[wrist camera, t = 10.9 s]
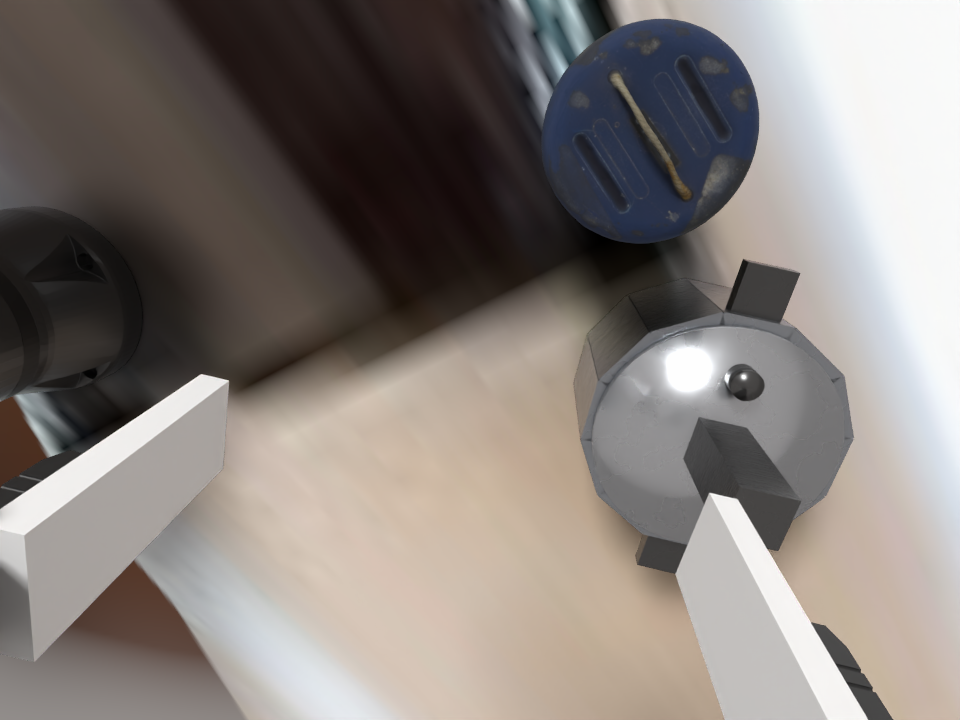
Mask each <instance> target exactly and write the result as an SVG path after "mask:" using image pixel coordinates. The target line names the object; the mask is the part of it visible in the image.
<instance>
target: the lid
mask: <svg viewBox="0 0 960 720" xmlns="http://www.w3.org/2000/svg"><path fill="white" fill-rule="evenodd" d="M844 433H845V423H844V413H843V409H842V404H841V400H840V398H839V395H838V393H837V390H836V388H835V386H834V384H833V383H832V381H831V379H830V378H829V376H828V375H827V373H826V372H825V371H824V369H823V368H822V367H821V366H820V365H819V364H818V363H817V361H815V360H814V359H813V358H812V357H811V356H810V355H808V354H807V353H806V352H805V351H804V350H802V349H801V348H799V347H798V346H796V345H795V344H793V343H791V342H790V341H788V340H787V339H784V338H782V337H780V336H778V335H775V334H773V333H771V332H767V331H764V330H760V329H757V328H752V327H746V326H740V325H713V326H703V327H698V328H693V329H688V330H685V331H682V332H679V333H676V334H673V335H670V336H668V337H666V338H664V339H662V340H659V341H657V342H655V343H654V344H652V345H650V346H649V347H647V348H646V349H644V350H642V351H641V352H640V353H638V354H637V355H636V356H635V357H633V358H632V359H631V360H630V361H629V362H627V363H626V365H625V366H624V367H623V368H622V369H621V370H620V371H619V372H618V373H617V374H616V375H615V377H614V378H613V380H612V381H611V382H610V384H609V385H608V387H607V388H606V390H605V392H604V394H603V396H602V397H601V399H600V402H599V405H598V407H597V410H596V413H595V417H594V422H593V426H592V439H591V441H592V454H593V460H594V464H595V469H596V472H597V475H598V477H599V480H600V483H601V485H602V486H603V488H604V490H605V492H606V494H607V495H608V497H609V498H610V499H611V501H612V502H613V503H614V504H615V506H616V507H617V508H618V509H619V510H620V511H621V512H622V513H623V514H624V515H625V516H627V517H628V518H629V519H630V520H632V521H633V522H634V523H636V524H637V525H639V526H641V527H642V528H644V529H646V530H648V531H649V532H652V533H654V534H656V535H659V536H661V537H664V538H667V539H671V540H674V541H678V542H684V543H689V540H690V538H691V536H692V533H693V531H694V528H695V526H696V524H697V521H698V519H699V516H700V514H701V512H702V509H703V507H704V504H705V502H706V500H707V497H708V495H709V493H713V494H717V495H722V496H726V497H730V498H734V499H738V501H739V502H740V504H741V506H742V508H743V509H744V511H745V513H746V514H747V516H748V518H749V519H750V521H751V523H752V524H753V526H754V528H755V529H756V531H757V533H758V535H759V536H760V538H761V540H762V541H763V543H764V545H765V546H766V548H767V549H771V550H775V551H778V550H779V548H780V546H781V544H782V542H783V540H784V537H785V535H786V533H787V531H788V529H789V527H790V525H791V523H792V520H793V518H795V517H796V516H798V515H799V514H800V513H801V512H802V511H804V510H805V509H806V508H807V507H808V506H809V505H810V504H811V503H812V502H813V501H814V500H815V499H816V498H817V497H818V496H819V495H820V493H821V492H822V491H823V489H824V488H825V487H826V485H827V484H828V482H829V480H830V479H831V477H832V475H833V473H834V472H835V469H836V467H837V464H838V462H839V459H840V456H841V452H842V448H843V444H844Z"/></svg>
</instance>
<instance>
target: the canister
mask: <svg viewBox="0 0 960 720" xmlns="http://www.w3.org/2000/svg"><path fill="white" fill-rule="evenodd" d="M758 133H759V109H758V101H757V96H756V92H755V89H754V86H753V83H752V80H751V78H750V75H749V73H748V71H747V70H746V68H745V66H744V64H743V63H742V61H741V60H740V58H739V57H738V56H737V54H736V53H735V52H734V51H733V50H732V49H731V48H730V47H729V46H728V45H727V44H726V43H725V42H724V41H722V40H721V39H720V38H719V37H717V36H716V35H714V34H713V33H711V32H710V31H708V30H706V29H704V28H702V27H699V26H696V25H694V24H691V23H688V22H684V21H679V20H672V19H652V20H644V21H639V22H635V23H631V24H628V25H625V26H622V27H619V28H617V29H615V30H613V31H611V32H609V33H607V34H606V35H604V36H603V37H601V38H599V39H598V40H596V41H595V42H594V43H592V44H591V45H590V46H588V47H587V48H586V49H585V50H584V51H583V52H582V53H581V54H580V55H579V56H578V57H577V58H576V59H575V60H574V61H573V62H572V64H571V65H570V66H569V67H568V68H567V70H566V71H565V72H564V74H563V75H562V77H561V79H560V80H559V82H558V84H557V85H556V87H555V90H554V92H553V94H552V96H551V99H550V101H549V104H548V107H547V110H546V114H545V119H544V123H543V129H542V140H541V144H542V159H543V164H544V169H545V173H546V176H547V179H548V181H549V183H550V185H551V188H552V190H553V191H554V193H555V195H556V197H557V198H558V200H559V201H560V203H561V204H562V205H563V206H564V208H565V209H566V210H567V211H568V212H569V213H570V214H571V215H572V216H573V217H574V218H575V219H576V220H577V221H578V222H579V223H580V224H582V225H583V226H584V227H586V228H588V229H589V230H591V231H593V232H595V233H597V234H599V235H601V236H604V237H606V238H609V239H612V240H616V241H621V242H627V243H635V244H642V243H653V242H658V241H664V240H668V239H671V238H674V237H678V236H680V235H683V234H685V233H687V232H689V231H691V230H693V229H695V228H697V227H698V226H700V225H702V224H703V223H705V222H706V221H707V220H709V219H710V218H711V217H713V216H714V215H715V214H716V213H717V212H718V211H719V210H721V209H722V208H723V207H724V205H725V204H726V203H727V202H728V201H729V200H730V199H731V198H732V196H733V195H734V194H735V192H736V191H737V190H738V188H739V187H740V185H741V183H742V182H743V180H744V178H745V176H746V174H747V172H748V170H749V168H750V165H751V163H752V160H753V157H754V154H755V150H756V145H757V140H758Z"/></svg>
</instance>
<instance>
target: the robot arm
mask: <svg viewBox="0 0 960 720" xmlns="http://www.w3.org/2000/svg"><path fill="white" fill-rule="evenodd" d="M141 329H142V307H141V301H140V297H139V293H138V289H137V286H136V284H135V281H134V279H133V277H132V274H131V272H130V271H129V269H128V267H127V265H126V264H125V262H124V260H123V259H122V257H121V256H120V255H119V253H118V252H117V251H116V250H115V248H114V247H113V246H112V245H111V244H110V243H109V242H108V241H107V240H106V239H105V238H104V237H103V236H102V235H101V234H100V233H99V232H97V231H96V230H95V229H94V228H92V227H91V226H89V225H88V224H86V223H85V222H83V221H81V220H80V219H78V218H76V217H74V216H72V215H70V214H67V213H65V212H62V211H59V210H55V209H51V208H45V207H22V208H12V209H3V210H0V401H2V400H5V399H7V398H9V397H11V396H14V395H18V394H28V393H38V392H48V391H58V390H68V389H76V388H80V387H84V386H87V385H90V384H92V383H94V382H96V381H98V380H101V379H103V378H105V377H107V376H109V375H111V374H112V373H114V372H116V371H117V370H119V369H120V368H121V367H122V366H123V365H125V363H126V362H127V361H128V360H129V359H130V357H131V356H132V354H133V353H134V351H135V349H136V347H137V344H138V342H139V339H140V335H141ZM228 390H229V381H228V380H224V379H220V378H216V377H211V376H207V375H203V374H201V375H199V376H198V377H196V378H195V379H193V380H192V381H190V382H189V383H187V384H186V385H184V386H183V387H181V388H180V389H178V390H177V391H175V392H174V393H172V394H171V395H169V396H168V397H166V398H165V399H163V400H162V401H161V402H159V403H158V404H156V405H155V406H153V407H152V408H150V409H149V410H147V411H146V412H144V413H143V414H141V415H140V416H138V417H137V418H135V419H134V420H132V421H131V422H129V423H128V424H126V425H125V426H123V427H122V428H120V429H119V430H117V431H116V432H114V433H113V434H111V435H110V436H108V437H107V438H105V439H104V440H102V441H101V442H99V443H98V444H96V445H95V446H93V447H92V448H90V449H89V450H88V451H86V452H85V453H79V452H75V451H71V450H69V451H66V452H64V453H61V454H58V455H55V456H52V457H49V458H46V459H43V460H41V461H40V462H38V463H36V464H35V465H33V466H32V467H30V468H28V469H27V470H25V471H24V472H22V473H20V476H19V477H14V478H13V479H11V480H9V481H8V482H6V483H4V484H3V485H2V487H1V488H0V654H2V655H6V656H11V657H15V658H19V659H23V660H27V661H32V662H35V661H36V660H37V659H38V658H39V657H40V656H41V655H42V653H44V652H45V651H46V650H47V648H48V647H49V646H50V645H51V644H52V643H53V642H54V641H55V640H56V639H57V638H58V637H59V636H60V635H61V634H62V633H63V632H64V631H65V630H66V629H67V628H68V627H69V626H70V625H71V624H72V623H73V622H74V621H75V620H76V619H77V618H78V617H79V616H80V614H82V612H84V610H86V609H87V607H89V605H90V604H91V603H92V602H93V601H94V600H95V599H96V598H97V597H98V596H99V595H100V594H101V593H102V592H103V591H104V590H105V589H106V588H107V587H108V586H109V585H110V584H111V583H112V582H113V581H114V580H115V579H116V578H117V577H118V576H119V575H120V574H121V573H122V572H123V571H124V570H125V569H126V567H127V566H129V564H130V563H131V562H132V561H133V560H134V559H135V558H136V557H137V556H138V555H139V554H140V553H141V552H142V551H143V550H144V549H145V548H146V547H147V546H148V545H149V544H150V543H151V542H152V541H153V540H154V539H155V538H156V537H157V536H158V535H159V534H160V533H161V532H162V531H163V530H164V529H165V528H166V527H167V526H168V525H169V524H170V522H171V521H172V520H173V519H174V518H175V517H176V516H177V515H178V514H179V513H180V512H181V511H182V510H183V509H184V508H185V507H186V506H187V505H188V504H189V503H190V502H191V501H192V500H193V499H194V498H195V497H196V496H197V495H198V494H199V493H200V492H201V491H202V490H203V489H204V488H205V487H206V486H207V485H208V484H209V483H210V482H211V480H212V479H213V478H214V477H215V476H216V475H217V474H218V473H219V472H220V471H221V470H222V469H223V466H224V451H225V436H226V420H227V405H228ZM675 575H676V577H677V580H678V583H679V586H680V589H681V592H682V595H683V598H684V601H685V604H686V607H687V610H688V613H689V616H690V619H691V622H692V625H693V628H694V630H695V633H696V636H697V639H698V642H699V645H700V648H701V651H702V654H703V657H704V660H705V663H706V666H707V669H708V672H709V675H710V678H711V680H712V683H713V686H714V689H715V692H716V695H717V698H718V701H719V704H720V707H721V710H722V713H723V716H724V719H725V720H893V719H892V717H891V716H890V714H889V713H888V711H887V709H886V708H885V706H884V705H883V703H882V702H881V700H880V698H879V697H878V695H877V694H876V692H873V691H872V688H873V687H872V686H871V684H870V683H869V681H868V680H867V678H866V676H865V675H864V674H862V673H861V669H860V667H859V665H858V664H857V662H856V661H855V659H854V658H853V656H852V654H851V653H850V651H849V650H848V648H847V647H846V646H845V645H844V644H843V643H842V642H841V641H840V640H839V639H838V638H837V637H836V636H835V635H834V634H833V633H832V632H831V631H830V630H829V629H828V628H827V627H826V626H824V625H820V624H816V623H812V622H810V621H809V619H808V617H807V616H806V614H805V612H804V610H803V609H802V607H801V605H800V604H799V602H798V600H797V599H796V597H795V595H794V594H793V592H792V590H791V589H790V587H789V585H788V583H787V582H786V580H785V578H784V577H783V575H782V573H781V572H780V570H779V568H778V567H777V565H776V563H775V562H774V560H773V558H772V556H771V555H770V553H769V551H768V550H767V548H766V546H765V545H764V543H763V541H762V540H761V538H760V536H759V535H758V533H757V531H756V529H755V528H754V526H753V524H752V523H751V521H750V519H749V518H748V516H747V514H746V513H745V511H744V509H743V508H742V506H741V504H740V502H739V501H738V499H734V498H730V497H726V496H722V495H717V494H713V493H709V495H708V497H707V500H706V502H705V504H704V507H703V509H702V512H701V514H700V516H699V519H698V521H697V524H696V526H695V528H694V531H693V533H692V536H691V538H690V540H689V543H688V545H687V548H686V550H685V552H684V555H683V557H682V560H681V562H680V564H679V567H678V569H677V572H676V574H675Z"/></svg>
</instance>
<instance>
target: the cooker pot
mask: <svg viewBox="0 0 960 720" xmlns="http://www.w3.org/2000/svg"><path fill="white" fill-rule="evenodd" d="M799 275H800V273H799V272H796V271H794V270H791V269H786V268H782V267H777V266H773V265H768V264H763V263H759V262H754V261H750V260H745V259H743V261H742V264H741V266H740V269H739V272H738V275H737V277H736V280H735V283H734V286H733V288H728V287H724V286H719V285H714V284H710V283H705V282H701V281H696V280H692V279H687V278H683V279H679V280H676V281H672V282H669V283H666V284H662V285H659V286H655V287H652V288H648V289H645V290H641V291H638V292H635V293H631V294H628V295H629V296H628V295H627V296H626V297H625V298H624V299H623V300H621V301H620V302H619V303H618V304H617V305H616V306H615V307H614V308H613V309H612V310H611V311H610V312H609V313H608V314H607V315H606V316H605V317H604V318H603V319H602V320H601V321H600V322H599V323H598V324H597V325H596V326H595V327H594V328H593V329H592V330H591V331H590V332H589V333H588V334H587V337H586V340H585V344H584V347H583V351H582V354H581V358H580V361H579V365H578V369H577V372H576V376H575V379H574V391H575V399H576V408H577V416H578V424H579V432H580V440H581V444H582V447H583V450H584V453H585V457H586V460H587V463H588V466H589V470H590V473H591V476H592V479H593V483H594V486H595V489H596V492H597V495H598V496H599V497H600V498H601V499H602V500H603V501H605V502H606V503H607V504H608V505H609V506H610V507H611V508H613V509H614V510H615V511H616V512H617V513H618V514H620V515H621V516H622V517H623V518H624V519H625V520H627V521H628V522H629V523H630V524H631V525H632V526H633V527H635V528H636V529H637V530H638V531H639V532H640V533H642V534H643V536H642V539H641V541H640V544H639V547H638V550H637V552H636V555H635V556H636V561H637V565H641V566H645V567H649V568H653V569H657V570H662V571H666V572H670V573H674V574H676V572H677V569H678V567H679V564H680V562H681V560H682V557H683V555H684V552H685V550H686V548H687V545H688V543H684V542H678V541H674V540H671V539H667V538H664V537H661V536H659V535H656V534H654V533H652V532H649V531H648V530H646V529H644V528H642V527H641V526H639V525H637V524H636V523H634V522H633V521H632V520H630V519H629V518H628V517H627V516H625V515H624V514H623V513H622V512H621V511H620V510H619V509H618V508H617V507H616V506H615V504H614V503H613V502H612V501H611V499H610V498H609V497H608V495H607V494H606V492H605V490H604V488H603V486H602V485H601V483H600V480H599V477H598V475H597V472H596V469H595V464H594V460H593V454H592V441H591V439H592V426H593V422H594V417H595V413H596V410H597V407H598V405H599V402H600V399H601V397H602V396H603V394H604V392H605V390H606V388H607V387H608V385H609V384H610V382H611V381H612V380H613V378H614V377H615V375H616V374H617V373H618V372H619V371H620V370H621V369H622V368H623V367H624V366H625V365H626V363H627V362H629V361H630V360H631V359H632V358H633V357H635V356H636V355H637V354H638V353H640V352H641V351H642V350H644V349H646V348H647V347H649V346H650V345H652V344H654V343H655V342H657V341H659V340H662V339H664V338H666V337H668V336H670V335H673V334H676V333H679V332H682V331H685V330H688V329H693V328H698V327H703V326H713V325H740V326H746V327H752V328H757V329H760V330H764V331H767V332H771V333H773V334H775V335H778V336H780V337H782V338H784V339H787V340H788V341H790V342H791V343H793V344H795V345H796V346H798V347H799V348H801V349H802V350H804V351H805V352H806V353H807V354H808V355H810V356H811V357H812V358H813V359H814V360H815V361H817V363H818V364H819V365H820V366H821V367H822V368H823V369H824V371H825V372H826V373H827V375H828V376H829V378H830V379H831V381H832V383H833V384H834V386H835V388H836V390H837V393H838V395H839V398H840V400H841V404H842V409H843V413H844V423H845V433H844V444H843V448H842V452H841V456H840V459H839V462H838V464H837V467H836V469H835V472H834V473H833V475H832V477H831V479H830V480H829V482H828V484H827V485H826V487H825V488H824V489H823V491H822V492H821V493H820V495H819V496H818V497H817V498H816V499H815V500H814V501H813V502H812V503H811V504H810V505H809V506H808V507H807V508H806V509H805V510H804V511H802V512H801V513H800V514H799V515H801V514H802V513H804V512H805V511H806V510H808V509H809V508H811V507H812V506H813V505H815V504H816V503H818V502H819V501H820V500H822V499H823V498H824V497H825V496H826V495H827V493H828V491H829V489H830V487H831V485H832V482H833V480H834V478H835V476H836V474H837V472H838V470H839V468H840V466H841V464H842V462H843V460H844V458H845V456H846V454H847V452H848V449H849V447H850V445H851V443H852V441H853V438H854V436H853V429H852V423H851V416H850V410H849V403H848V396H847V390H846V383H845V377H844V376H843V374H842V373H841V372H840V371H839V370H838V369H837V368H836V367H835V366H834V365H833V364H832V363H831V362H830V361H829V360H828V359H827V358H826V357H825V356H824V355H823V354H822V353H821V352H820V351H819V350H818V349H817V348H816V347H815V346H814V345H813V344H812V343H811V342H810V341H809V340H808V339H807V338H806V337H805V336H804V335H803V334H802V333H801V332H800V331H799V330H798V329H797V328H795V327H794V326H792V325H791V324H790V323H788V322H787V321H785V320H784V319H782V318H783V315H784V313H785V310H786V308H787V305H788V303H789V300H790V298H791V295H792V293H793V290H794V288H795V285H796V283H797V280H798V278H799ZM799 515H798V516H799ZM798 516H796V517H795V518H797V517H798ZM795 518H793V520H794V519H795Z"/></svg>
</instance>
